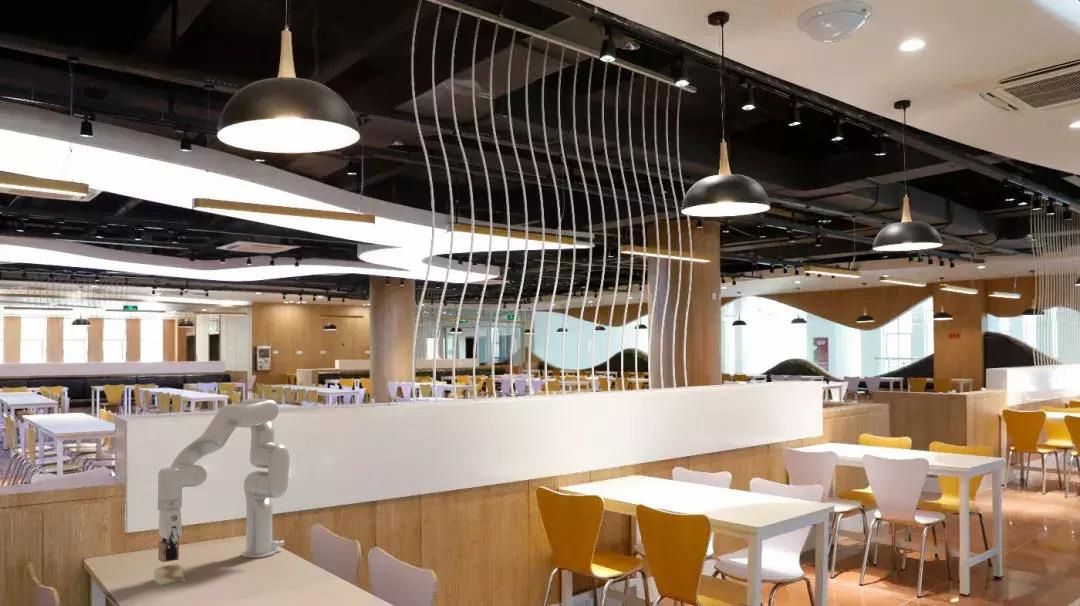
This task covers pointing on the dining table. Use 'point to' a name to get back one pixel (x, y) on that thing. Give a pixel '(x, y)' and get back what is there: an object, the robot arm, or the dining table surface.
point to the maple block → (168, 573)
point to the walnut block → (163, 551)
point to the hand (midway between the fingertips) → (168, 557)
